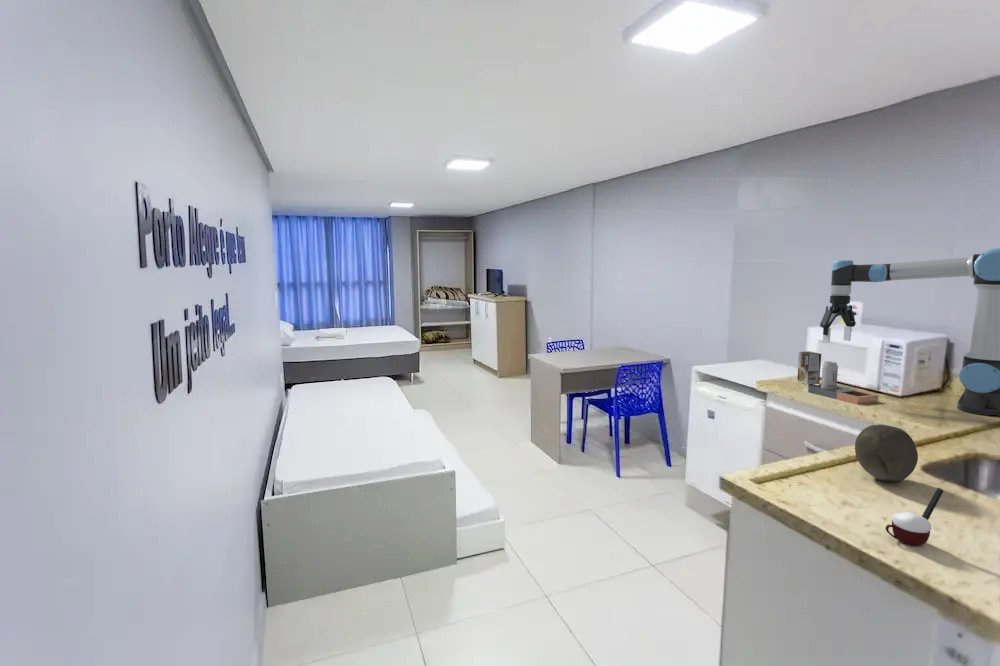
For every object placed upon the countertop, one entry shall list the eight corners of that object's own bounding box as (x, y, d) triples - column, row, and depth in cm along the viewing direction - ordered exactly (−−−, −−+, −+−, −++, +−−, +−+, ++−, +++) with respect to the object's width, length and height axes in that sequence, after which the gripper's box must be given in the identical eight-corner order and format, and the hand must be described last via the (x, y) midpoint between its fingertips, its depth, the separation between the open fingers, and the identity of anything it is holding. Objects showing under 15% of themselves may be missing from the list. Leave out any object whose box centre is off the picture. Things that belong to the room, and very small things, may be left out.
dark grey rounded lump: (930, 487, 129) (935, 432, 127) (884, 492, 127) (889, 436, 125) (881, 467, 143) (885, 417, 141) (838, 470, 141) (842, 420, 139)
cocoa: (885, 544, 103) (887, 490, 102) (883, 530, 109) (884, 478, 107) (945, 555, 98) (948, 499, 97) (939, 540, 103) (942, 486, 102)
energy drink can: (830, 395, 226) (832, 363, 224) (817, 392, 231) (819, 361, 229) (839, 394, 228) (841, 362, 226) (826, 391, 234) (828, 360, 232)
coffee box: (820, 385, 246) (822, 353, 245) (807, 385, 246) (809, 354, 245) (808, 381, 255) (810, 351, 254) (796, 381, 256) (798, 351, 254)
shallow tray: (808, 391, 233) (808, 385, 233) (827, 390, 237) (827, 383, 236) (857, 404, 210) (857, 397, 210) (878, 402, 214) (878, 395, 213)
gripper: (850, 293, 228) (847, 338, 231) (812, 295, 219) (809, 341, 222) (867, 294, 221) (863, 340, 224) (829, 295, 212) (825, 344, 215)
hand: (836, 341), depth 223 cm, fingers open, 13 cm apart
